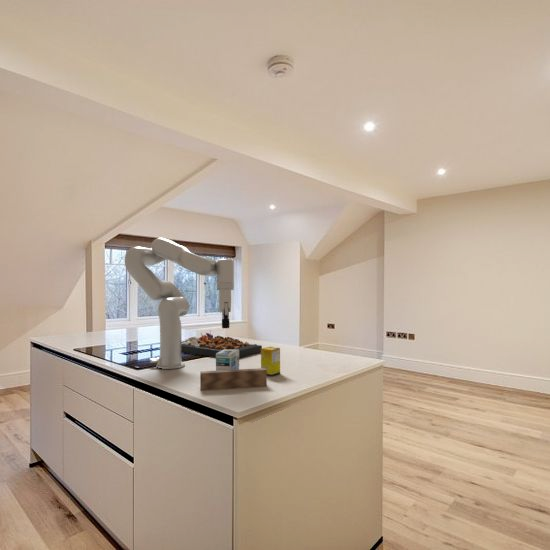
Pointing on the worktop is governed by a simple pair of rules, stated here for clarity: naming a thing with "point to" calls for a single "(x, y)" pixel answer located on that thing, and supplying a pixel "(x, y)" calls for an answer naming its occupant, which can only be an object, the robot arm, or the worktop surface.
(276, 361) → the supplement box
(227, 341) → the food platter
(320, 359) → the worktop surface
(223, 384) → the walnut board
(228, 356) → the light bulb box
